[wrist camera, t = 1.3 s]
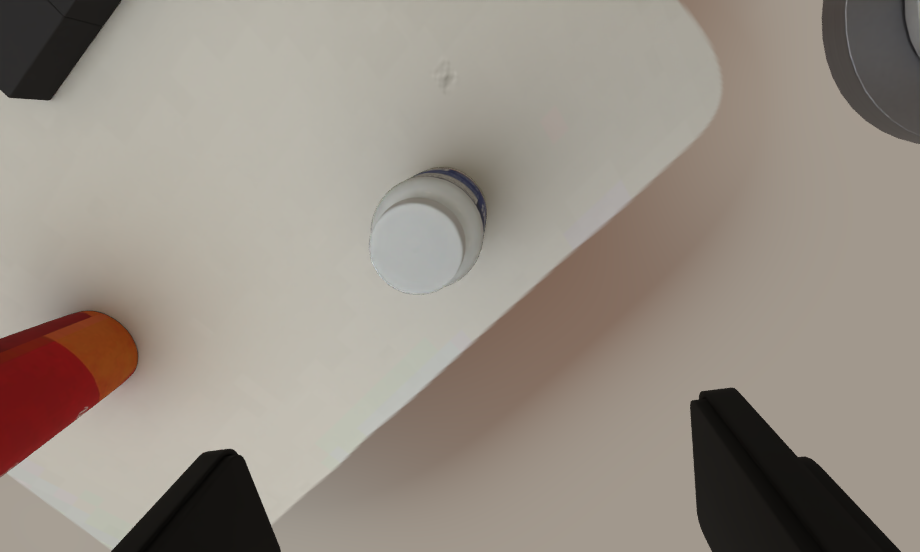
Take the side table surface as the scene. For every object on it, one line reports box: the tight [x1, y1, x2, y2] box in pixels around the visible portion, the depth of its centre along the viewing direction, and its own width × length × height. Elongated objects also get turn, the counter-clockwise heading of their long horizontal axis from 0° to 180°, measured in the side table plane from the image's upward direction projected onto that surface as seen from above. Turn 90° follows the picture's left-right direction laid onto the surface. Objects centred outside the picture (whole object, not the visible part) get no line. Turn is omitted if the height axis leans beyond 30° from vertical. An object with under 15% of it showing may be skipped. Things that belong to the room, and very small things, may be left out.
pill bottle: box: [369, 167, 487, 295], centre depth 24 cm, size 5×5×10 cm
